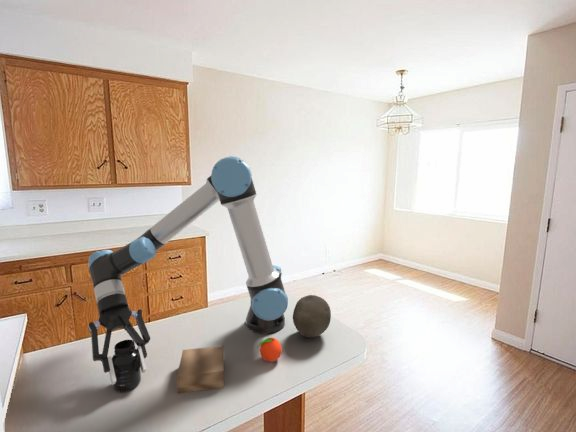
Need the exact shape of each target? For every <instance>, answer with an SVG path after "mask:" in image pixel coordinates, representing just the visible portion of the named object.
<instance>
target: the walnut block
mask: <svg viewBox="0 0 576 432" xmlns="http://www.w3.org/2000/svg"><path fill="white" fill-rule="evenodd" d="M224 350H225V349H224V345H218V346H209V347H200V348H189V349H183V350H182V353H181V357H180V362H179V366H178V370H177V375H176V380H177V381H176V382H177V383H176V384H177V387H176V388H177V394H182V393H190V392H198V391H207V390H213V389H222V388H224V387H225V381H224V380H225V373H224V372H225V371H224V370H225V366H224V365H225V364H224V363H225V362H224V359H225V356H224V354H225V353H224V352H225V351H224Z"/></svg>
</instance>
